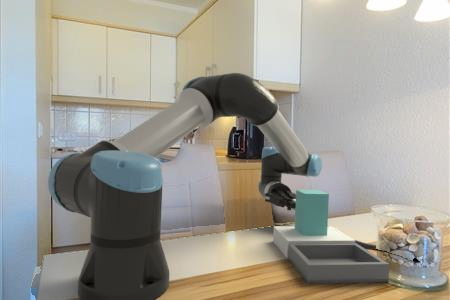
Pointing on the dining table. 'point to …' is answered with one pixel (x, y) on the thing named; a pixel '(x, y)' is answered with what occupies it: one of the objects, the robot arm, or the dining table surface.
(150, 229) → the robot arm
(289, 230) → the white flat box
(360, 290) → the dining table surface
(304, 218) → the block
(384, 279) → the tray
